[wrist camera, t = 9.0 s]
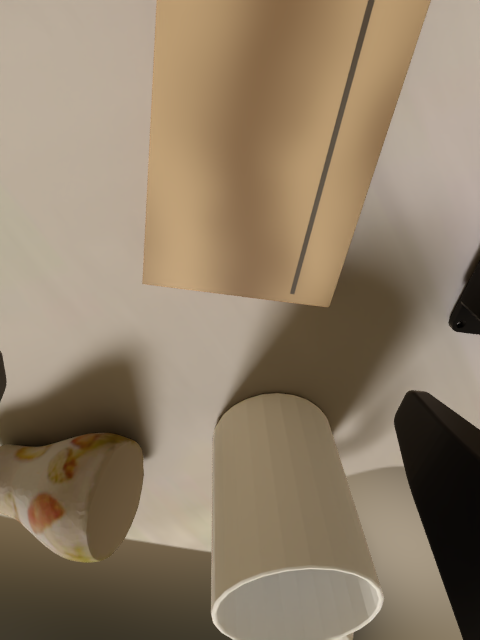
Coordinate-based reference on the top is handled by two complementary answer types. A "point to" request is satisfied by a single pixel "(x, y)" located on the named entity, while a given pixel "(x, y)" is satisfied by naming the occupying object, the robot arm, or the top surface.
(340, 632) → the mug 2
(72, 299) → the top surface
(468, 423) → the robot arm
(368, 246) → the top surface
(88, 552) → the patterned white vase
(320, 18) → the board
